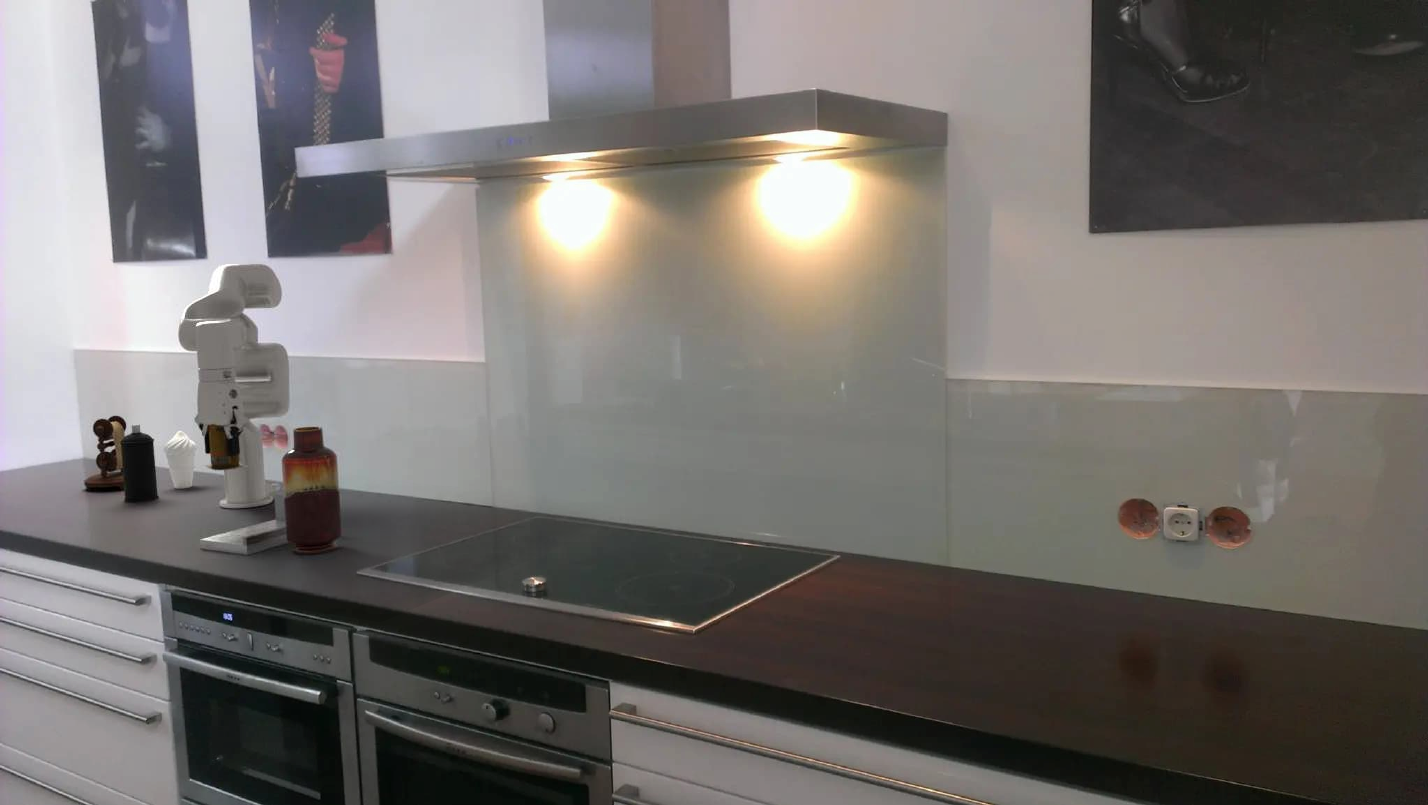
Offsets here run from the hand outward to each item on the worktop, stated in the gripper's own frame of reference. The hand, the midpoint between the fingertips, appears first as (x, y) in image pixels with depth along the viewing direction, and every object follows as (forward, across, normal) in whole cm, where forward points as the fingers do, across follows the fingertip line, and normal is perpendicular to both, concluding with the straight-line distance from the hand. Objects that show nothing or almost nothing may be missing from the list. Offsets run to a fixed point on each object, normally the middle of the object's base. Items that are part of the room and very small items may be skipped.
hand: (222, 453), depth 250 cm
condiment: (+3, -1, 0) cm, 3 cm away
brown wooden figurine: (+20, +75, -26) cm, 82 cm away
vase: (+18, -33, +6) cm, 38 cm away
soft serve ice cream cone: (+20, +56, -33) cm, 68 cm away
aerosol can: (+20, +52, -17) cm, 58 cm away
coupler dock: (+18, -16, +4) cm, 24 cm away
